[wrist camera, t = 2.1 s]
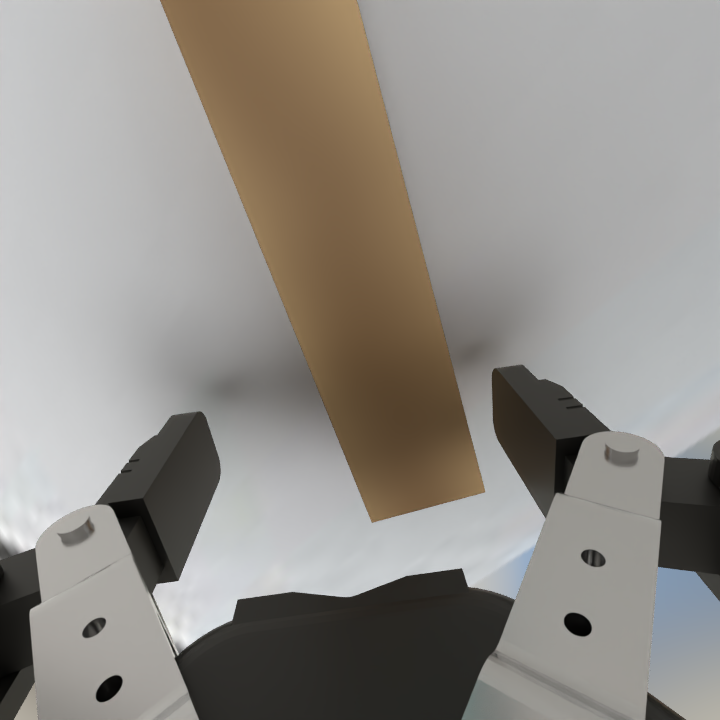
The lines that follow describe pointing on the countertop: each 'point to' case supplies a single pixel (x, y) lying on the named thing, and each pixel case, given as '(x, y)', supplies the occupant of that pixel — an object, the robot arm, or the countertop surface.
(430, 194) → the countertop surface
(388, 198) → the rod
